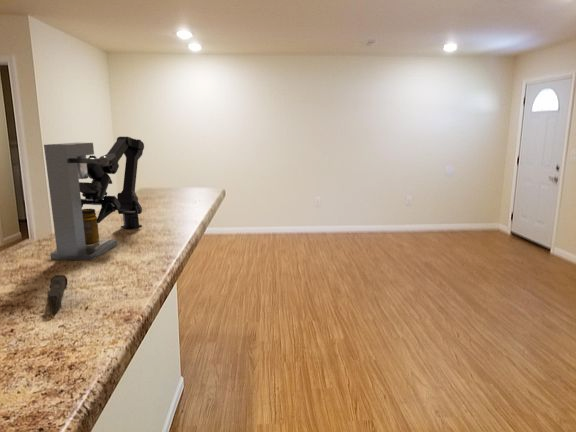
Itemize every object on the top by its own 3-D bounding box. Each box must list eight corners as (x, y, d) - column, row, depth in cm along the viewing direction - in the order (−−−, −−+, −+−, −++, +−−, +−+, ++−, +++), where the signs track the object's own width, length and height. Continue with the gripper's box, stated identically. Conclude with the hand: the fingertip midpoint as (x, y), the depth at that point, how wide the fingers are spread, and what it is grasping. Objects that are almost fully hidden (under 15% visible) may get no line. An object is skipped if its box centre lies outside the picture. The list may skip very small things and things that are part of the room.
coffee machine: (81, 243, 152) (70, 142, 144) (139, 245, 151) (131, 142, 142) (48, 260, 133) (33, 144, 125) (113, 262, 132) (102, 145, 123)
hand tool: (52, 288, 111) (49, 272, 110) (68, 286, 113) (66, 270, 112) (40, 318, 94) (37, 300, 93) (59, 315, 96) (57, 297, 95)
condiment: (104, 239, 148) (101, 208, 146) (92, 246, 140) (88, 213, 137) (85, 239, 149) (81, 207, 146) (71, 246, 140) (68, 212, 138)
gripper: (63, 172, 144) (47, 209, 136) (114, 173, 143) (100, 210, 134) (78, 190, 153) (64, 225, 145) (126, 191, 152) (114, 227, 144)
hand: (85, 222), depth 142 cm, fingers open, 9 cm apart
